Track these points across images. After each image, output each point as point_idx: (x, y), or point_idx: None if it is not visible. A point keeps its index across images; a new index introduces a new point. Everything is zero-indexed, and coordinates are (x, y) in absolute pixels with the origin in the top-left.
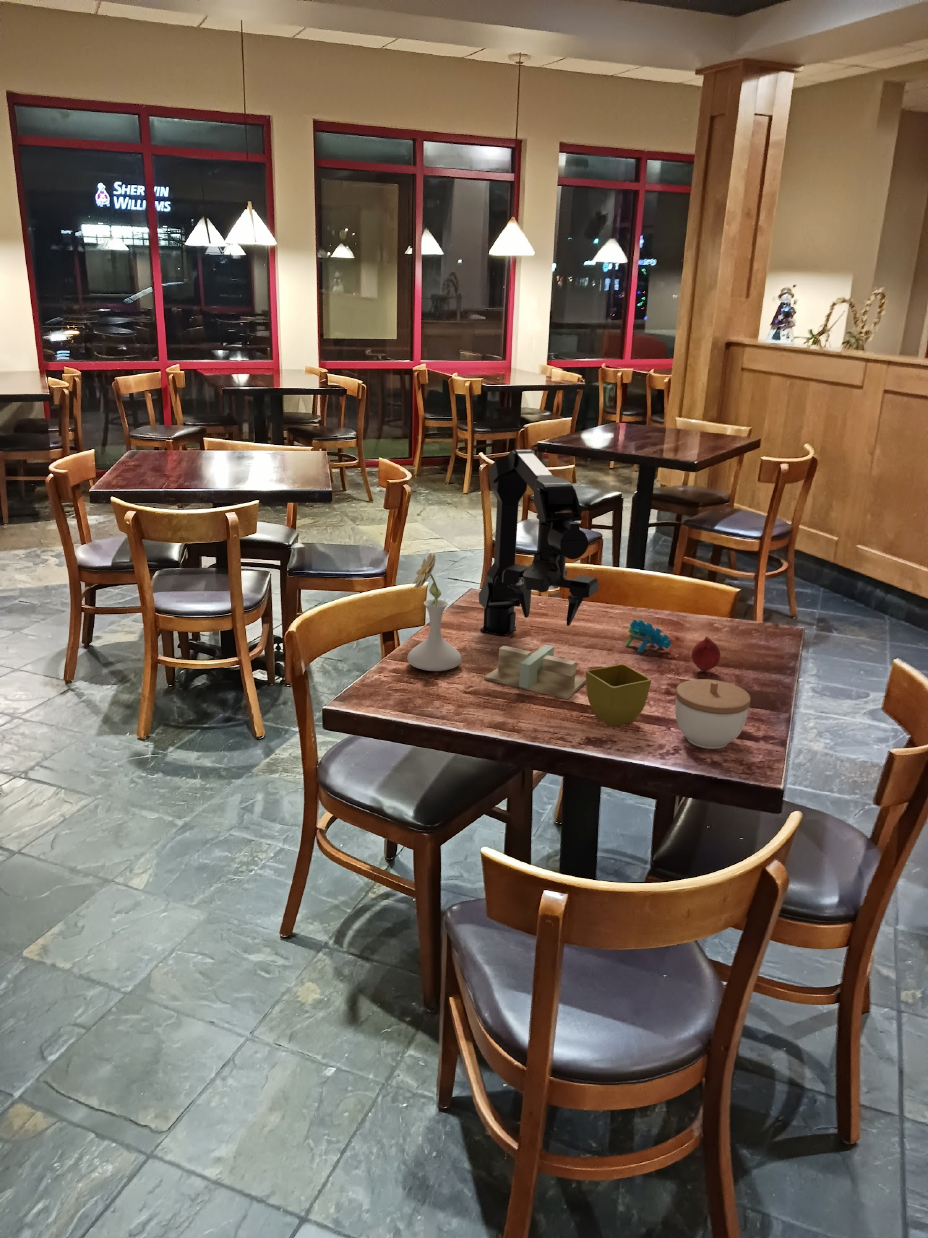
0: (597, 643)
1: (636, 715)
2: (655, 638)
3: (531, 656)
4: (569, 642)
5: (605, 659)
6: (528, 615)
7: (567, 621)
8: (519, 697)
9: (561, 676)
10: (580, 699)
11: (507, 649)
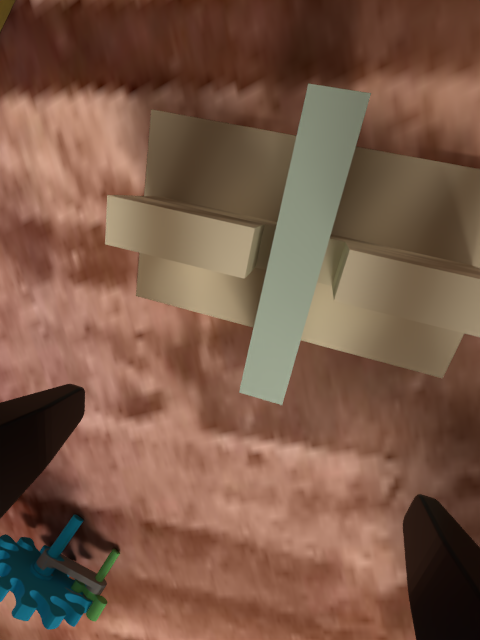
0: (186, 561)
1: None
2: (29, 560)
3: (319, 230)
4: (256, 562)
5: (139, 468)
6: (405, 529)
7: (50, 397)
8: (338, 34)
9: (183, 205)
10: (116, 133)
11: (475, 291)
